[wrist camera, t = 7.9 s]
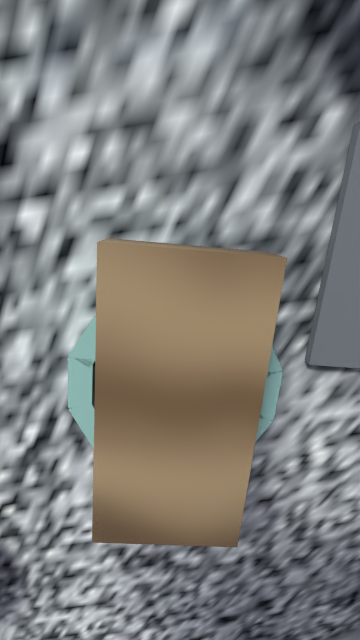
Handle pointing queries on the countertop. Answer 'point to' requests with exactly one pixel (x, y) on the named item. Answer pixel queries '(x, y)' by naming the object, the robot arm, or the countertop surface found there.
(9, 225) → the countertop surface
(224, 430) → the tan wooden plank
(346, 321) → the mat
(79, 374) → the bowl
